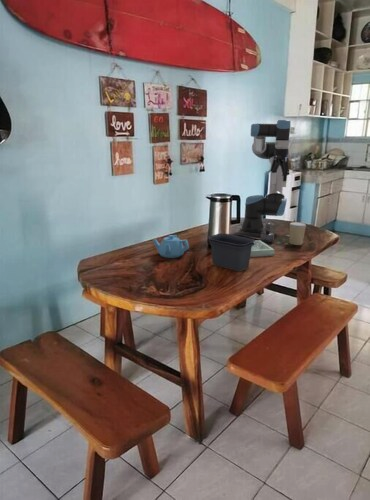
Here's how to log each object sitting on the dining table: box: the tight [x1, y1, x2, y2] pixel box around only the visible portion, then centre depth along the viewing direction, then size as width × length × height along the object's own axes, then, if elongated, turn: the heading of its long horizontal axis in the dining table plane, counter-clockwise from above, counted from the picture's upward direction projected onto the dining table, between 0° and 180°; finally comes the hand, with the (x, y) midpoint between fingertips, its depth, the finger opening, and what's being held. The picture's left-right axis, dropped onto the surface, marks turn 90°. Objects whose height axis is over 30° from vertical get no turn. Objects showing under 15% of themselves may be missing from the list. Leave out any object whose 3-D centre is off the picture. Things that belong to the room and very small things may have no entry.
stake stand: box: [260, 222, 275, 245], centre depth 223 cm, size 8×8×12 cm
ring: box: [251, 241, 262, 250], centre depth 205 cm, size 11×11×4 cm
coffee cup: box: [288, 221, 307, 246], centre depth 220 cm, size 9×9×12 cm
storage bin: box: [208, 232, 255, 272], centre depth 180 cm, size 21×16×14 cm
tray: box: [250, 239, 276, 258], centre depth 205 cm, size 19×19×3 cm
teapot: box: [152, 234, 190, 259], centre depth 196 cm, size 15×15×11 cm
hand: (278, 185), depth 219 cm, fingers open, 13 cm apart
